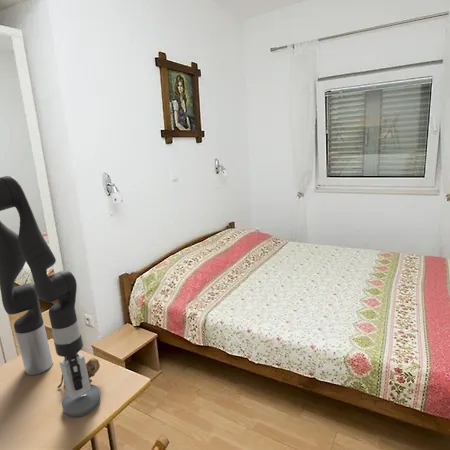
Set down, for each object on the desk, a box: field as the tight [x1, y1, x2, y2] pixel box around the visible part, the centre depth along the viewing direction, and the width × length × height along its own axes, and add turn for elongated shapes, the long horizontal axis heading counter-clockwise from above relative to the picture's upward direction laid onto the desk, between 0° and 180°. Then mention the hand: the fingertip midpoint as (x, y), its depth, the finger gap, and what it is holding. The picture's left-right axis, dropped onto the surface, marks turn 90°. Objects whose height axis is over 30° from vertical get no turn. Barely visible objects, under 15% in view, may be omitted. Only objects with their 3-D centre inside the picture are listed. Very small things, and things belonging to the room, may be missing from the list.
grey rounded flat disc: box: [61, 383, 101, 419], centre depth 110 cm, size 11×11×3 cm
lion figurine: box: [56, 357, 101, 389], centre depth 118 cm, size 15×5×9 cm, turn 103°
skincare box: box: [59, 352, 91, 399], centre depth 107 cm, size 6×4×12 cm
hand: (77, 383), depth 108 cm, fingers closed on skincare box, 5 cm apart
